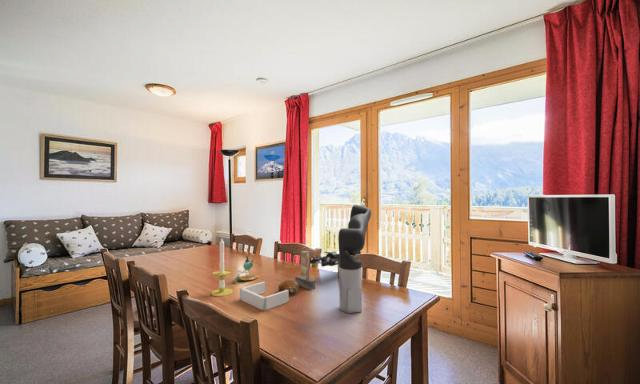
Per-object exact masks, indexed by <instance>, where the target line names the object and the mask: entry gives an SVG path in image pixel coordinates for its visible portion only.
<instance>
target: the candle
mask: <svg viewBox="0 0 640 384" xmlns="http://www.w3.org/2000/svg"><path fill="white" fill-rule="evenodd" d="M231 273H232V271H231V270H229V269H225V241H224V239H223V238H222V237H221V239H220V241H219V270H216V271H213V272H212V275H213V276H216V277H217V276H218V289H214V290H212V292H210V296H213V297H225V296H229V295H231V294H232V293H233V289H231V288H225V287H226V283H225V279H226V276H227V275H230V274H231Z"/></svg>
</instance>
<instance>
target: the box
mask: <svg viewBox="0 0 640 384" xmlns="http://www.w3.org/2000/svg"><path fill="white" fill-rule="evenodd" d="M264 293H266V281H261V282H258V283H254V284H250V285H247V286H244V287H240V288H239V300H240V301H242V302H244V303H246V304H249V305H251V306H253V307H255V308H257V309H259V310H261V311H264V312H265V311H268V310H271V309H273V308H275V307H276V308H277V307H278V306H280V305H281V306H282V305H283V304H286V303H288V302H289V301H290V296H289V290H285V291H282V292H279V291H278V292H276V293H273V294H270V295H267V296H264V295H261V294H264Z"/></svg>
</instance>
